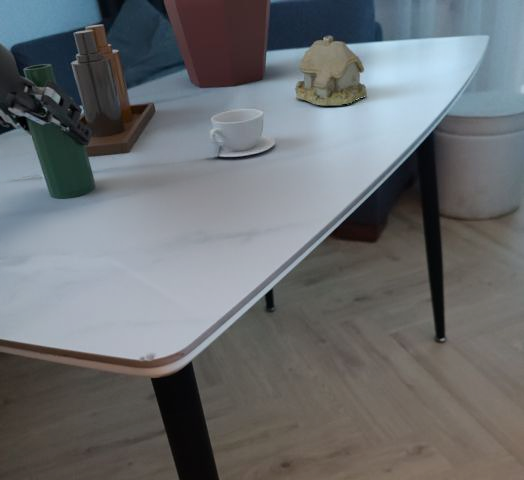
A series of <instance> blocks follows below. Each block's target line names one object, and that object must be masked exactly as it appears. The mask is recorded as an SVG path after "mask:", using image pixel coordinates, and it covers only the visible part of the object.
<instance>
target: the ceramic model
mask: <svg viewBox="0 0 524 480" xmlns="http://www.w3.org/2000/svg"><path fill="white" fill-rule="evenodd" d="M299 71H300V72H301V73H302V74H303V80H299V81H298V82H296V84H295V89H294V90H295V96H296V99H298V100H302V101H306V102H308V103H311V104H313V105H318V106H343V105H342V104H347V105H349V104H348V103H351V104H353V103H354V102H356V101H355V100H356V99H358V98H361V97H364V96H366V97H367V90H366V85H365V84H363V83H361V82H360V81H361V73H364V71H365V68H364V64H363V62H362V60H361V59H360V58H359V56H358V55H357V54H355V53H354V52H353V51H352V50H351V49H350V48H349V46H347V44H346V42H343V41H338V40H334V37H333V35H325V36H324V37H323V40H322V39H318V40H316V41H313V44H311V46H310V47H309V48H308V49H307V50H305V51H304V54H303V56H302V58H301V60H300V64H299ZM353 101H354V102H353ZM352 102H353V103H352Z"/></svg>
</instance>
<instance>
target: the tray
mask: <svg viewBox="0 0 524 480" xmlns="http://www.w3.org/2000/svg"><path fill="white" fill-rule="evenodd" d="M130 105H131V110H132V114H133V120H132V121H130V122H127V123H124V124H125V128H126V129H125V131H123V132H121V133H119V134H116V135H111V136H106V137H92V136H91V138H90V141H89V144H88V145H87V146H86V150H87V154H88V158H94V157H103V156H112V155H113V156H114V155H123V154H129V153H130V152H131V150H132V149H133V147H134V145H135V144H136V142H137V141H138V139H139V138H140V137H141V135H142V133H143V132H144V130H145V129H146V127H147V126H148V124H149V123H150V121H151V119H152V118H153V116H154V115H155V113H156V106H155V102H147V103H146V102H145V103H137V104H130ZM79 120H80V121H81V122H82V123H83V124H85V125H86V126H87V122H86V119H85V115H84V112H82V113H81V115H80V119H79ZM87 127H88V126H87Z"/></svg>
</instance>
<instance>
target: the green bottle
mask: <svg viewBox="0 0 524 480" xmlns="http://www.w3.org/2000/svg"><path fill="white" fill-rule="evenodd" d="M23 73H24V77H25V78H26V79H28V80H30V81H32V82H33V83H34V84H35V85H36V86H37V87H45V84H46V81H52V82H54V83H55V84H57V85H58V83H57V79H56V76H55V72H54V68H53V65H52V64H51V63H42V64H35V65H31V66H26V67H24V68H23ZM69 97H70V98H71V99H72V100H73V101H74V98H73V97H71V96H69ZM43 107H44V106H43V105H41V108H40V112H39V113H38V115H40V116H43V114H44V110H45V109H44V108H43ZM53 118H54V119H56V120H58V121H60V120H59V119H58V118H57V117H56V116H55V115H53ZM26 120H27V123H28V126H29V130H30V133H31V135H30V136H31V139H32V142H33V146H34V149H35V152H36V156H37V158H38V161H39V164H40V168H41V172H42V173H43V178H44V181H45V184H46V187H47V190H48V193H49V195H50V197H51V198H54V199H70V198H76V197H80V196H83V195H86V194H89V193H90V192H92V191H94V190H95V188H96V180H95V177H94V174H93V169H92V166H91V162H90V161H91V160H90V157H88V154H87V150H86V146H84V145H80V144H79V143H78V142H76V141H75V140H74V139H72V138H71V137H70V136H68V135H67V134H66V133H64V132H63V131H62V130H60V129H58V128H56V127H54V126H52V125H50V124H48V125H46V126H43V125H41V124H39V123H37V122H35V121H33V120H31V119H29V118H27V117H26Z"/></svg>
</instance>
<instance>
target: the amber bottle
mask: <svg viewBox="0 0 524 480" xmlns="http://www.w3.org/2000/svg"><path fill="white" fill-rule="evenodd" d="M84 28H85V30H93V31H94V35H95V39H96V44H97V48H98V51H101V52H102V55H103V56H106V57H109V58H110V62H111V66H112V71H113V75H114V79H115V84H116V88H117V93H118V97H119V102H120V106H121V111H122V115H123V120H124V123H127V122H130V121H132V120H133V114H132V110H131V105H132V104H131V101H130V97H129V92H128V87H127V82H126V78H125V73H124V69H123V63H122V59H121V54H120V50H118V49H113V46H112V44H110V43H109V42H108V37H107V34H106V28H105V25H104V24H94V25H88V26H85V27H84Z"/></svg>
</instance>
